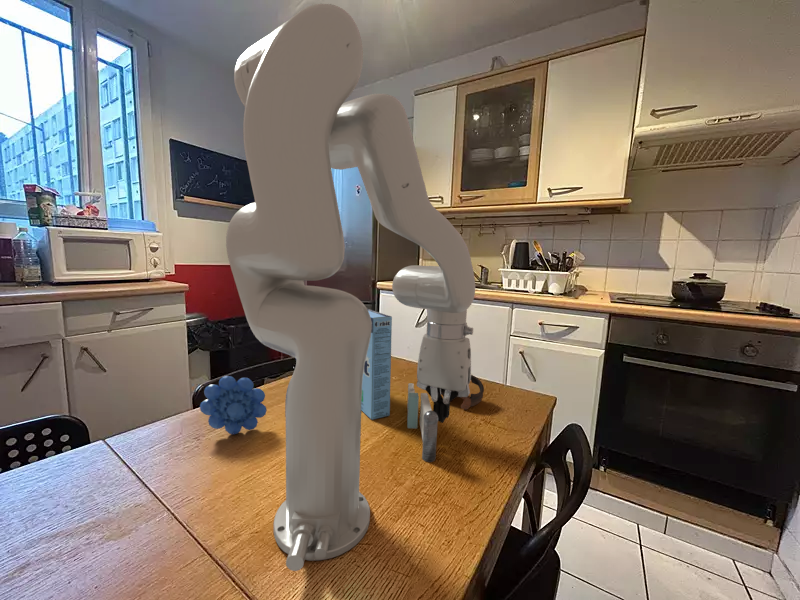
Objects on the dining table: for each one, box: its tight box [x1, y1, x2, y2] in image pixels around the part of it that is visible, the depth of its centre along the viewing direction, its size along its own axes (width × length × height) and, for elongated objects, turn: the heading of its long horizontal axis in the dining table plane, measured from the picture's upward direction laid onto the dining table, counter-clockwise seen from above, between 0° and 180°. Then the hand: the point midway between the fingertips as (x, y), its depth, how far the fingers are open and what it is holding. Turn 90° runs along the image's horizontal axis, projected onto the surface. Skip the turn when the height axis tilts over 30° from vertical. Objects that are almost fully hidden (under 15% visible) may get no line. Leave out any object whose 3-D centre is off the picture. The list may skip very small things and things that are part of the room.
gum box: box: [361, 308, 393, 421], centre depth 82 cm, size 20×5×23 cm, turn 31°
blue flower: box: [199, 375, 268, 435], centre depth 66 cm, size 12×7×12 cm, turn 119°
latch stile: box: [406, 392, 419, 429], centre depth 72 cm, size 2×2×7 cm
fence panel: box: [406, 382, 416, 410], centre depth 77 cm, size 8×1×6 cm, turn 2°
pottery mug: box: [441, 374, 485, 411], centre depth 85 cm, size 12×10×8 cm
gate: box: [418, 392, 433, 441], centre depth 68 cm, size 11×1×7 cm, turn 1°
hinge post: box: [421, 410, 439, 463], centre depth 61 cm, size 3×3×9 cm
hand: (440, 419), depth 69 cm, fingers closed
